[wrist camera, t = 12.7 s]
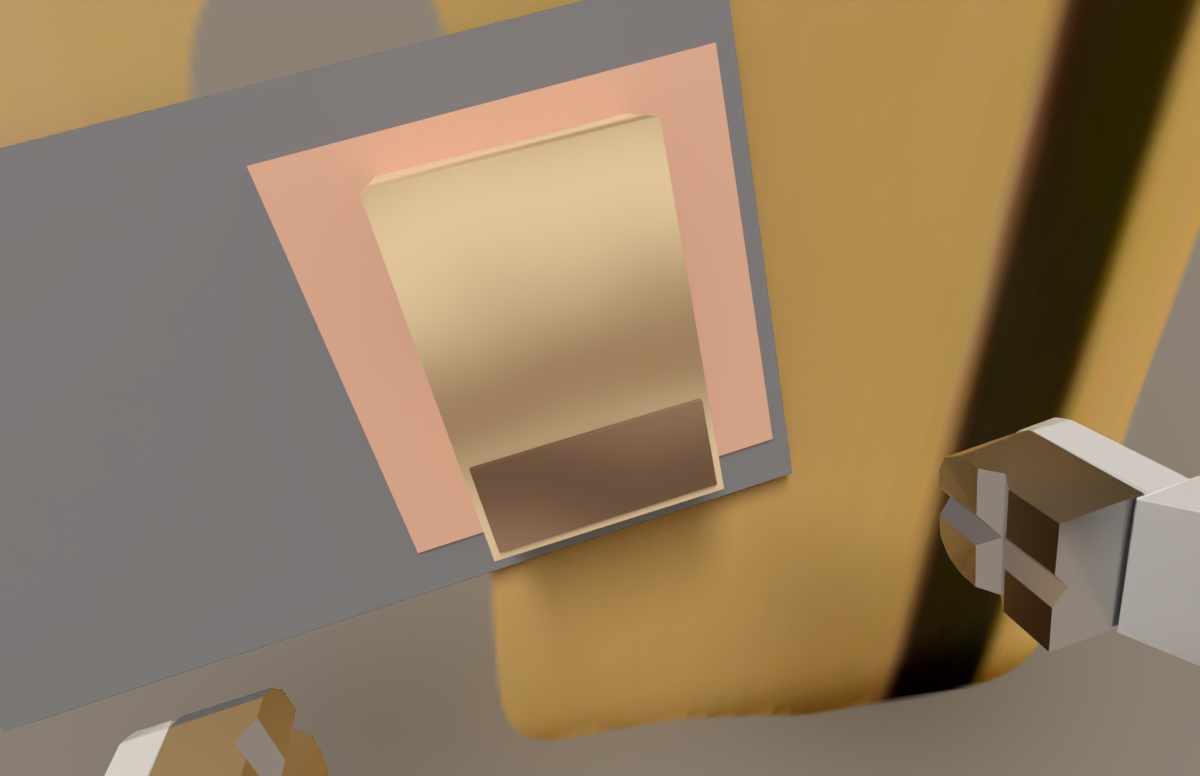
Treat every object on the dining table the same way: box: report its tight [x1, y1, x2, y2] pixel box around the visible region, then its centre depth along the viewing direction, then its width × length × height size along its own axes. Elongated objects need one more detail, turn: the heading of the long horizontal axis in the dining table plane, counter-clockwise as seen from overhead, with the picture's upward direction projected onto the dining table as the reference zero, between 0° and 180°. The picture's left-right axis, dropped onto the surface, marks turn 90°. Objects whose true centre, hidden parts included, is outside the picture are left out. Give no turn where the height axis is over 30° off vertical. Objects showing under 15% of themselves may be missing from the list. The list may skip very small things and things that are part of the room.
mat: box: [0, 0, 792, 731], centre depth 18 cm, size 24×14×1 cm, turn 104°
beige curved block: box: [359, 113, 724, 561], centre depth 16 cm, size 9×6×3 cm, turn 13°
